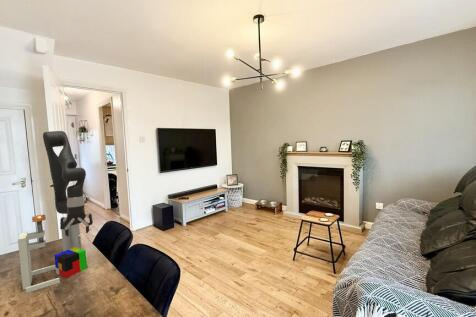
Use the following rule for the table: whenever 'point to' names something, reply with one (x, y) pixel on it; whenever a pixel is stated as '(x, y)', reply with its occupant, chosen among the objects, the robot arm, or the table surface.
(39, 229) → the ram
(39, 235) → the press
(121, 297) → the table surface
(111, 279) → the table surface
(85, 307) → the table surface
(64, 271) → the puzzle toy
